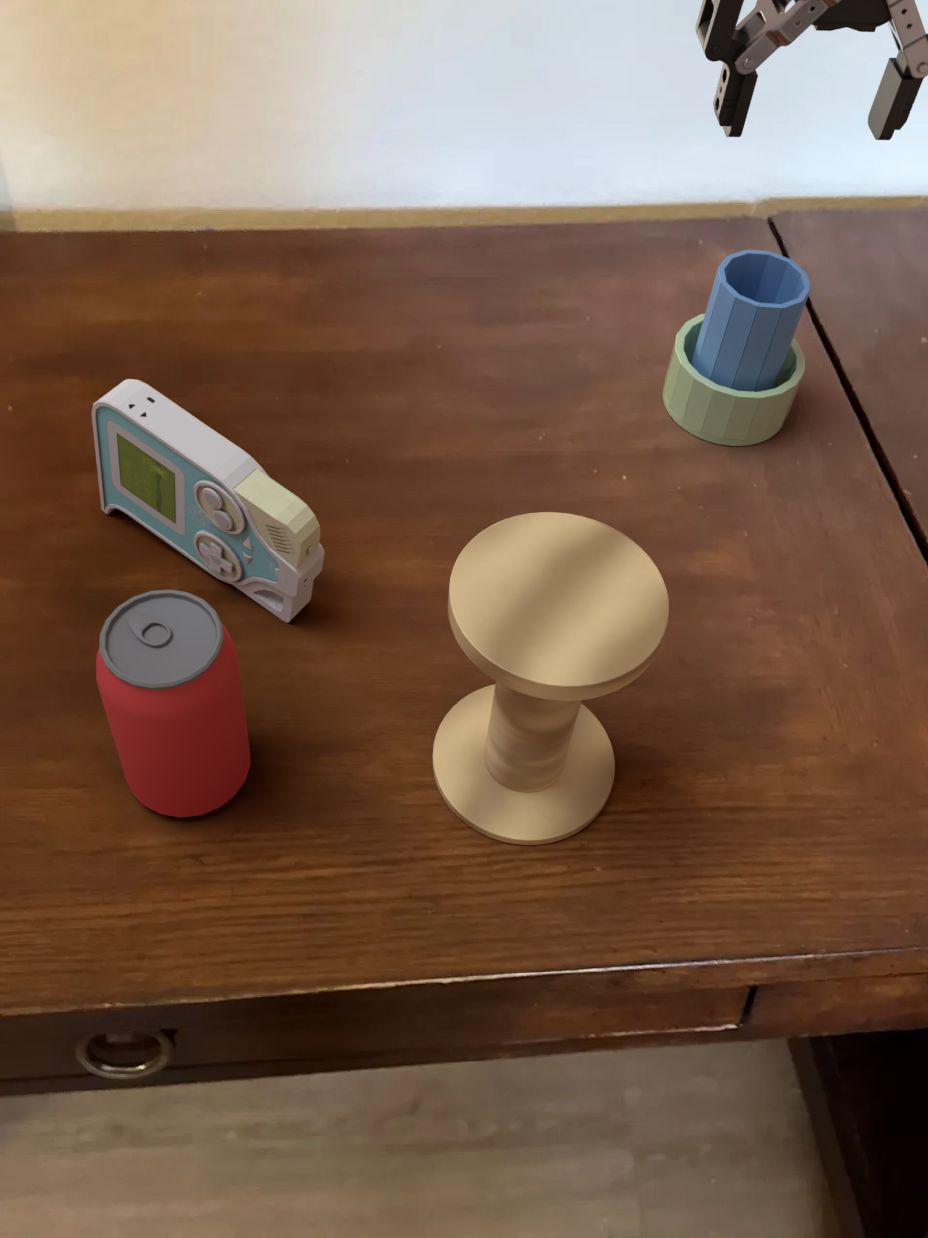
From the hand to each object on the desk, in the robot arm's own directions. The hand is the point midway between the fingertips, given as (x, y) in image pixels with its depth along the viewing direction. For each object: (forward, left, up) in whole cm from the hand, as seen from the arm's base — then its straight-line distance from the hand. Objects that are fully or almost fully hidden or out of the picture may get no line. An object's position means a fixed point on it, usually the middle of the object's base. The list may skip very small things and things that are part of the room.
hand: (804, 130), depth 67 cm
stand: (-2, +31, -22) cm, 38 cm away
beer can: (+13, +41, -22) cm, 48 cm away
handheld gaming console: (+21, +29, -22) cm, 42 cm away
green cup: (0, -2, -22) cm, 22 cm away
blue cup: (0, -2, -21) cm, 21 cm away
